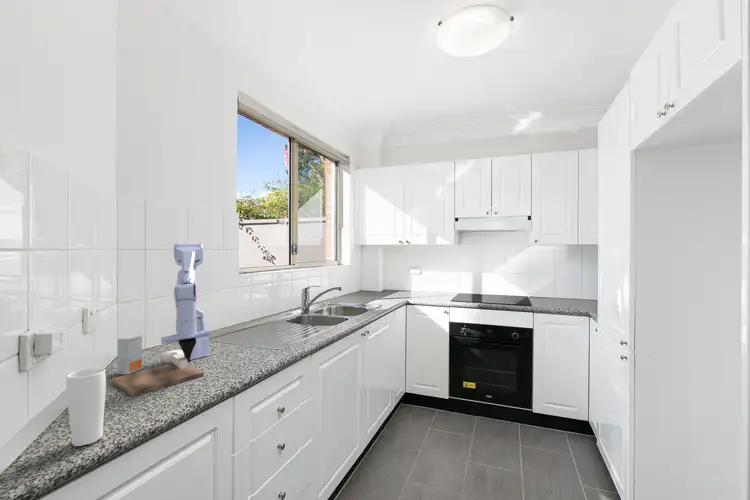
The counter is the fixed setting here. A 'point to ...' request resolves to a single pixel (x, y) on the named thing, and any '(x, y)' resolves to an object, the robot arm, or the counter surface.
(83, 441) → the white tumbler
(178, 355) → the white long piece
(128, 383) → the board
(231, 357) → the counter surface
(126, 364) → the skincare box
